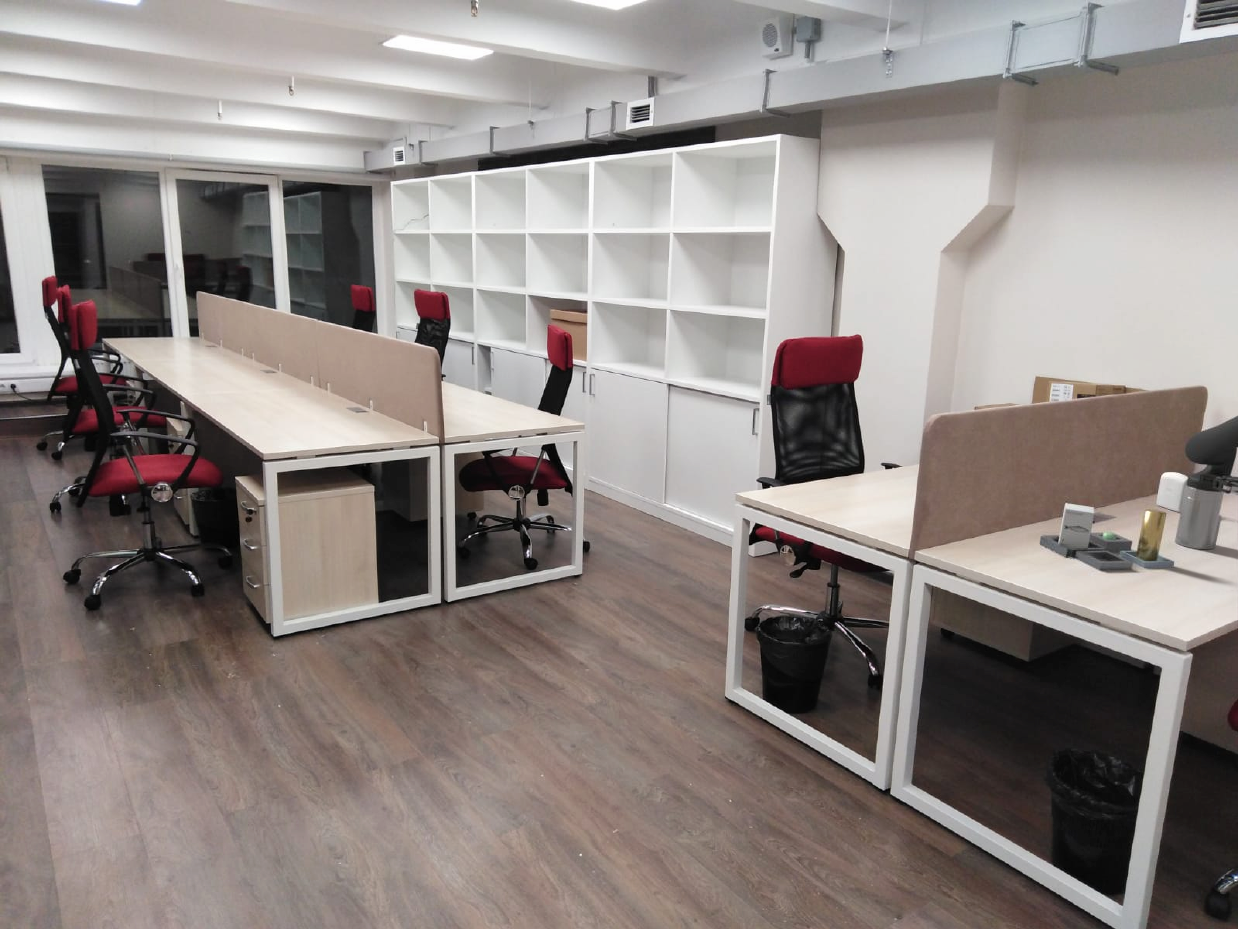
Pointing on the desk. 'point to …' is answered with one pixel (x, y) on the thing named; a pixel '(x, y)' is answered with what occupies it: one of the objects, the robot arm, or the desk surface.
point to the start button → (1109, 535)
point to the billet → (1151, 535)
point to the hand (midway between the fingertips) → (1202, 477)
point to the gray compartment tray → (1087, 554)
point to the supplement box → (1076, 526)
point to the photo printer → (1171, 491)
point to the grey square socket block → (1112, 542)
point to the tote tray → (1146, 564)
